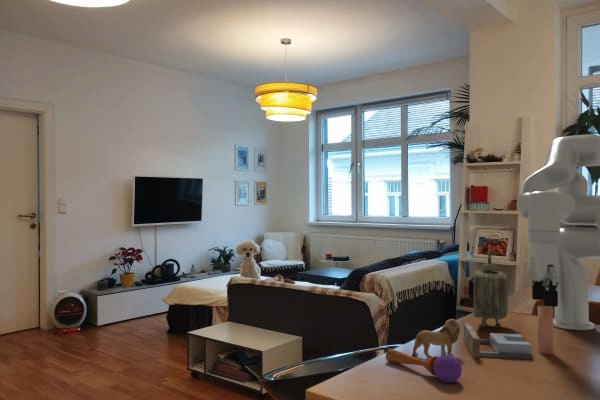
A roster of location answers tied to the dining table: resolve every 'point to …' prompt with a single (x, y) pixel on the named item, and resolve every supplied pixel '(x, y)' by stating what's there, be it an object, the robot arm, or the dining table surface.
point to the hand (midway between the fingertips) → (544, 302)
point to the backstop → (475, 341)
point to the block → (509, 343)
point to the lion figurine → (438, 338)
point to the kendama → (431, 364)
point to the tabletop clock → (490, 293)
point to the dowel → (545, 330)
